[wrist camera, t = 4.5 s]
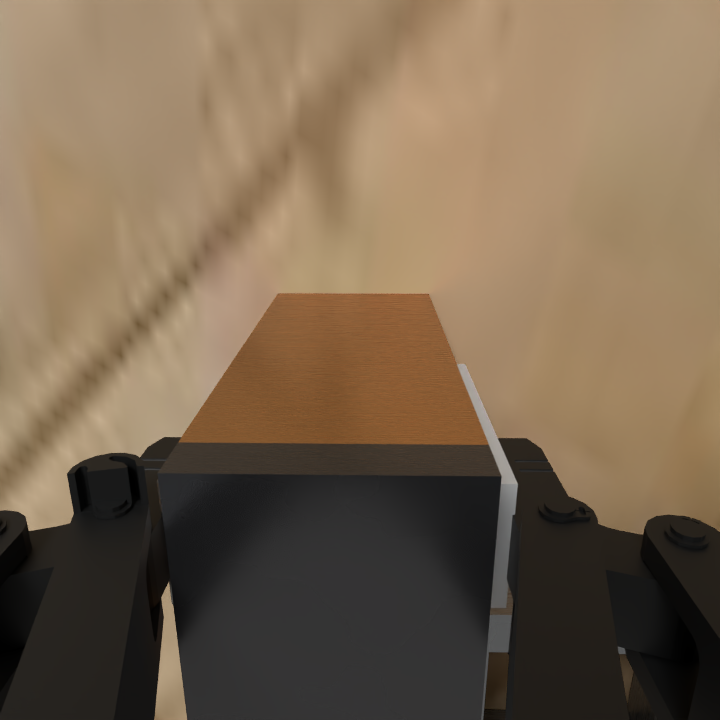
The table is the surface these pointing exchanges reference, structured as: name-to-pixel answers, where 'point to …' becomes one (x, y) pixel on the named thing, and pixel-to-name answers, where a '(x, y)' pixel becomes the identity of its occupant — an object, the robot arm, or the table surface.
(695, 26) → the table surface
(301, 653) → the square wooden peg
